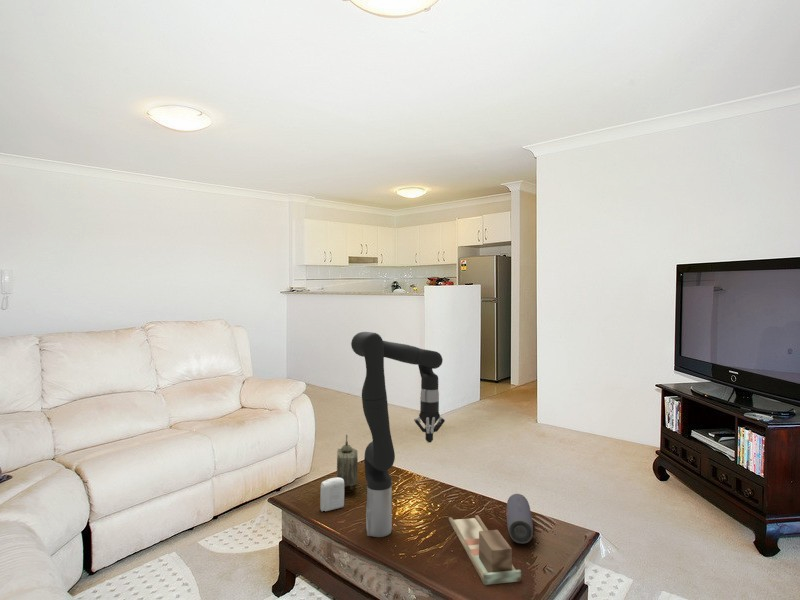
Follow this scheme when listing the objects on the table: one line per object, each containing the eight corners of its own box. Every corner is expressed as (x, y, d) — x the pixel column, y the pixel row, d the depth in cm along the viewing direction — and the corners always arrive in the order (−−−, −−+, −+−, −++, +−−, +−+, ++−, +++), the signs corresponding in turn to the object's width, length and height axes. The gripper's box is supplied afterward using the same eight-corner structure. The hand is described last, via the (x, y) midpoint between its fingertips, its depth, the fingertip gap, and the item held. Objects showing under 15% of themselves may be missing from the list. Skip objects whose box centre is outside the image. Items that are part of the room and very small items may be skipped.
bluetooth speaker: (505, 515, 186) (505, 491, 185) (529, 518, 184) (529, 493, 184) (506, 545, 163) (507, 517, 163) (534, 548, 161) (534, 520, 161)
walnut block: (492, 579, 143) (492, 550, 143) (478, 557, 155) (479, 531, 155) (511, 577, 145) (511, 548, 145) (497, 556, 156) (497, 529, 156)
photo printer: (341, 503, 197) (341, 474, 197) (345, 506, 193) (345, 477, 193) (318, 509, 191) (318, 479, 191) (323, 513, 187) (323, 482, 187)
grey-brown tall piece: (337, 483, 217) (337, 430, 216) (357, 483, 218) (357, 430, 217) (336, 497, 202) (337, 440, 202) (357, 496, 203) (357, 439, 203)
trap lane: (484, 584, 141) (484, 575, 141) (448, 520, 181) (448, 512, 181) (521, 581, 143) (521, 571, 143) (477, 518, 183) (477, 510, 183)
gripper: (415, 402, 183) (415, 445, 183) (447, 401, 186) (447, 444, 186) (411, 398, 191) (411, 439, 191) (443, 397, 193) (442, 438, 193)
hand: (429, 441), depth 188 cm, fingers closed
